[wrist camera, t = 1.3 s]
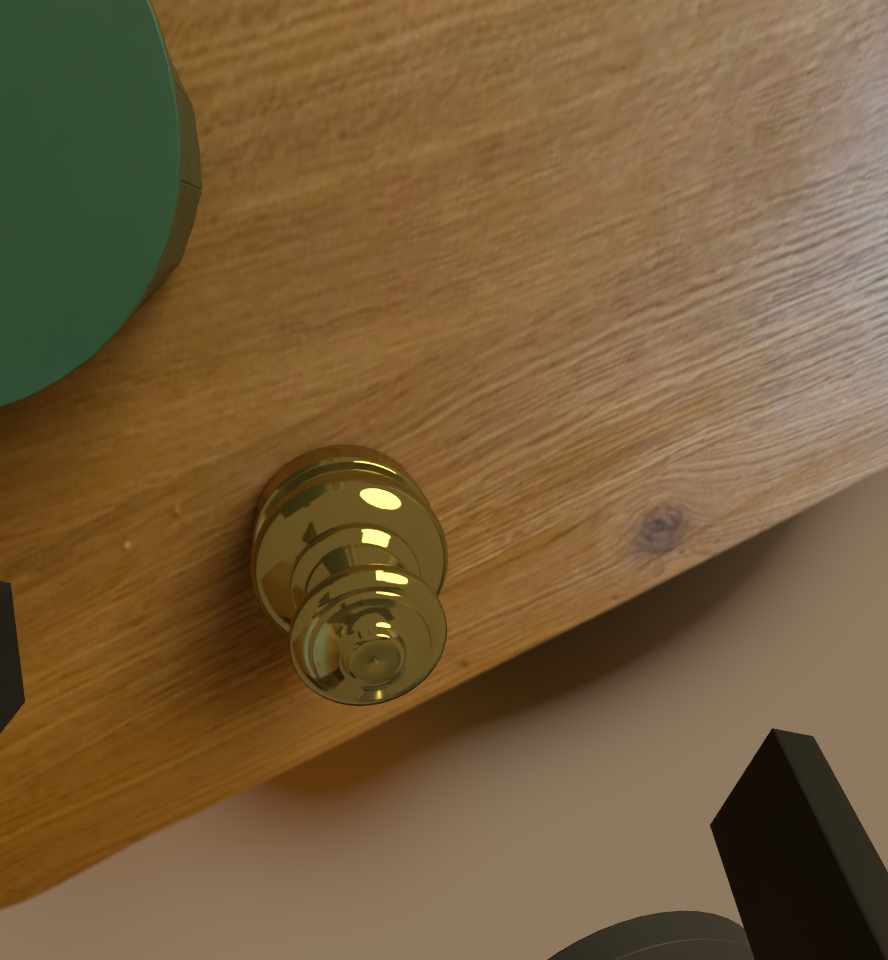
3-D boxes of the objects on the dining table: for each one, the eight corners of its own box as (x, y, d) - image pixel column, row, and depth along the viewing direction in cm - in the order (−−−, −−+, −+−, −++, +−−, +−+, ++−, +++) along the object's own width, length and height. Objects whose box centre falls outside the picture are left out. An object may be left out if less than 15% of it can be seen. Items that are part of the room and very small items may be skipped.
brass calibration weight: (319, 627, 30) (341, 799, 21) (215, 505, 27) (188, 647, 18) (455, 538, 31) (534, 673, 21) (366, 406, 27) (415, 499, 18)
